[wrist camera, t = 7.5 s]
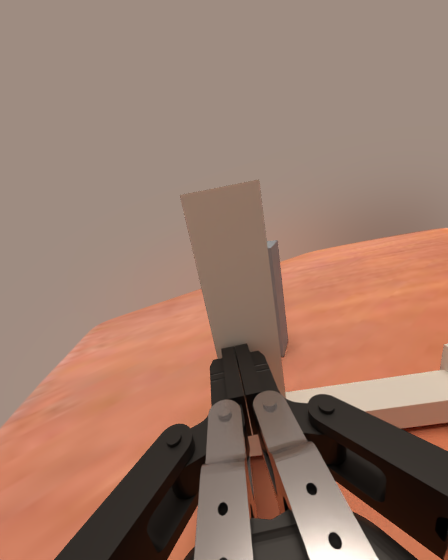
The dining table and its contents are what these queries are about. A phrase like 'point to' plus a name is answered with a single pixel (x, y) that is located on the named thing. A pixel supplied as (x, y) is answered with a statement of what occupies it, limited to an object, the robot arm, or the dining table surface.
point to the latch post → (278, 294)
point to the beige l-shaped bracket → (261, 310)
